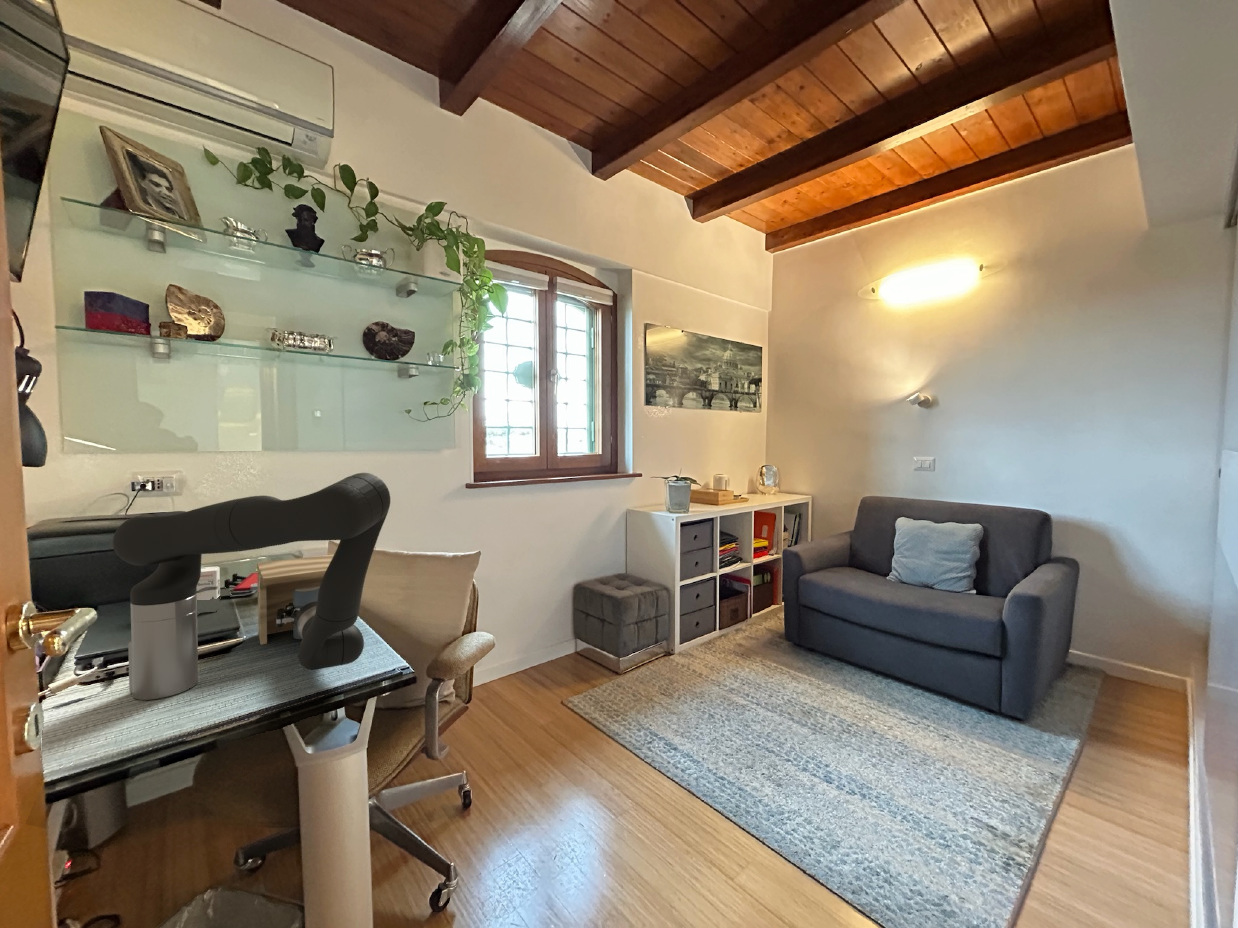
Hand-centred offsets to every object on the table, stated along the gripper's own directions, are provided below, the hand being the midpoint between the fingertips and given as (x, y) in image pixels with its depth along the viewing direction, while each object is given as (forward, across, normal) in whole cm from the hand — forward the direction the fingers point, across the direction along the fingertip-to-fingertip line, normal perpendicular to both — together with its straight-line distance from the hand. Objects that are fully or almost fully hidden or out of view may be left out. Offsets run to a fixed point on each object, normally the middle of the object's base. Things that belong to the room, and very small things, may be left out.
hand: (306, 604), depth 122 cm
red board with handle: (+61, +7, +8) cm, 62 cm away
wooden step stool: (0, 0, +8) cm, 8 cm away
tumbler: (-2, 0, +6) cm, 7 cm away
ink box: (+38, +20, +8) cm, 44 cm away
